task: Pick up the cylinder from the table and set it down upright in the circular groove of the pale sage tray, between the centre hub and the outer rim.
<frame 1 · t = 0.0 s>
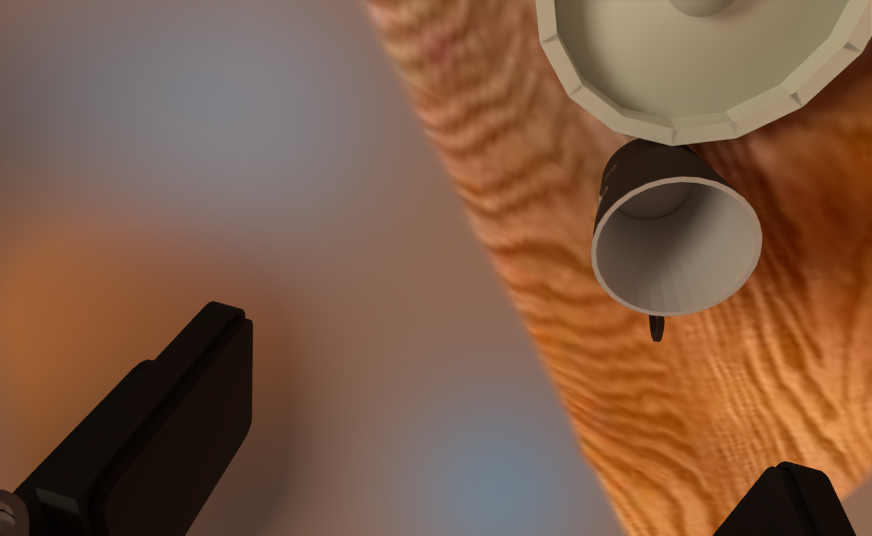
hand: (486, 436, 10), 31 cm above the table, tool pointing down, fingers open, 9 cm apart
coffee mug: (638, 197, 40), on the table
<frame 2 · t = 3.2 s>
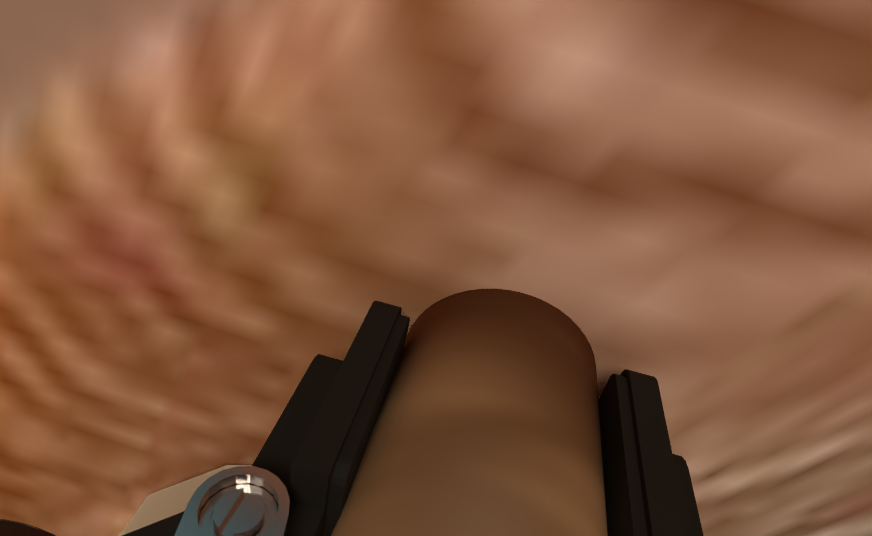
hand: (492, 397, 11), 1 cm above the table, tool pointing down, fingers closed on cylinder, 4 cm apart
cylinder: (496, 368, 12), on the table, touching gripper
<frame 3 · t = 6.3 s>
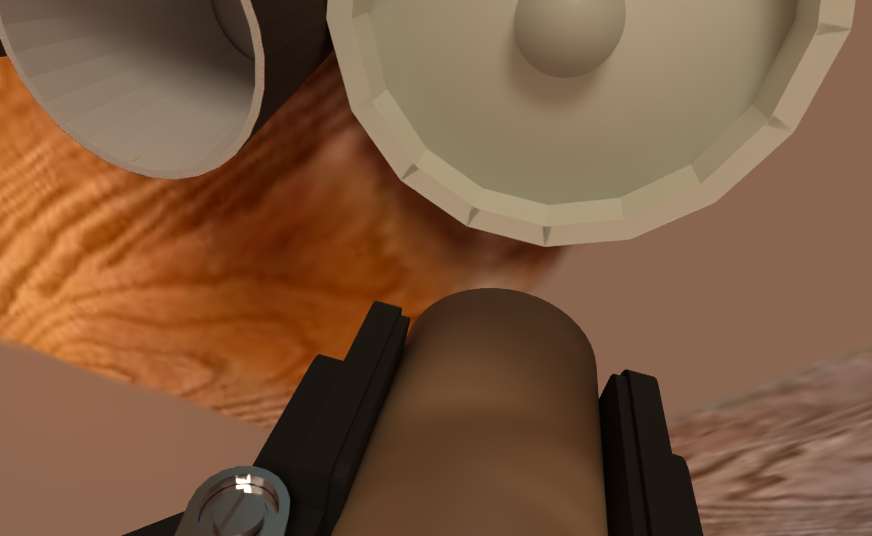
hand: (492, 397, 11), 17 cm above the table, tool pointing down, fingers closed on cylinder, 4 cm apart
tray: (568, 12, 23), on the table
cylinder: (497, 368, 12), point 16 cm above the table, touching gripper
when the fingers open (3 cm above the table, at t = 9.2 s): cylinder drops 1 cm, resting on tray.
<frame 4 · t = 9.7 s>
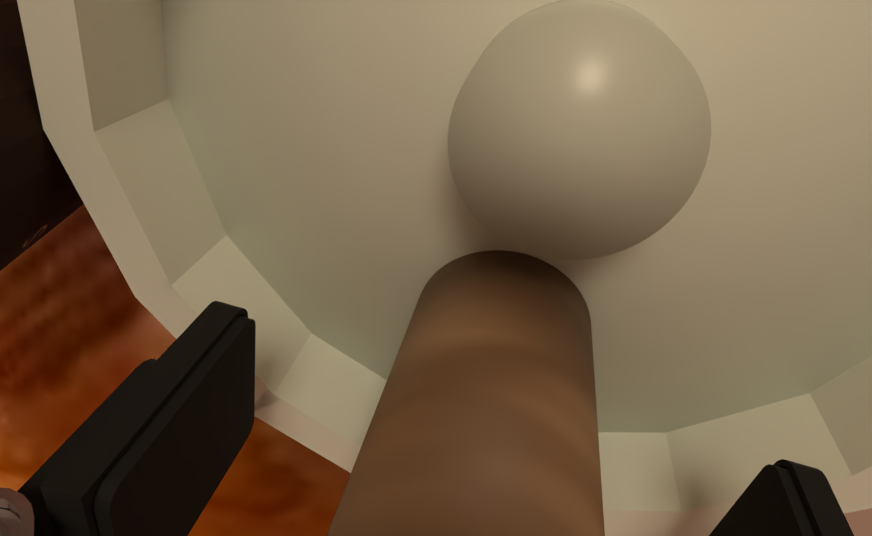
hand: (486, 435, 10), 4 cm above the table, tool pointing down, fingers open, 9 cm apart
tray: (571, 106, 11), on the table
cylinder: (501, 325, 13), point 1 cm above the table, touching tray
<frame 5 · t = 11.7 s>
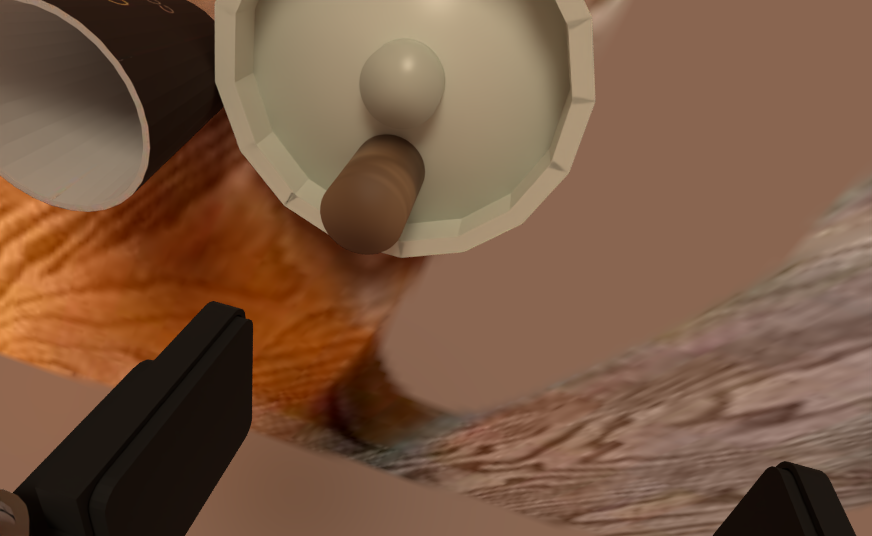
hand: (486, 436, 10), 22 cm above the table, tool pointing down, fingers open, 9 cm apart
tray: (409, 76, 29), on the table
coffee mug: (154, 48, 31), on the table
cylinder: (389, 169, 31), point 1 cm above the table, touching tray
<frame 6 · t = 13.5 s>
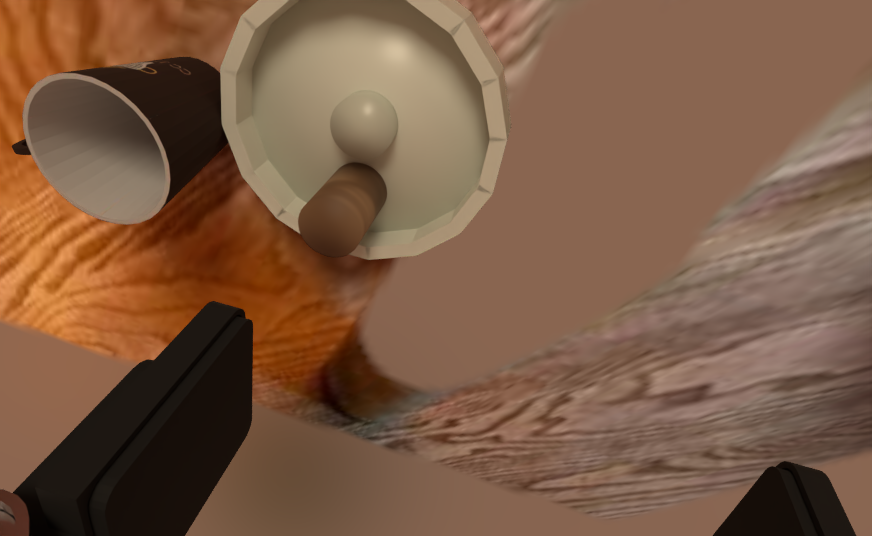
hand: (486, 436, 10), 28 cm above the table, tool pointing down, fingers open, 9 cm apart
tray: (372, 117, 37), on the table
coffee mug: (177, 95, 39), on the table
cylinder: (359, 189, 39), point 1 cm above the table, touching tray
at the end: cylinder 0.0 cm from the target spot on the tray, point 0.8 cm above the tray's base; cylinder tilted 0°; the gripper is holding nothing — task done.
